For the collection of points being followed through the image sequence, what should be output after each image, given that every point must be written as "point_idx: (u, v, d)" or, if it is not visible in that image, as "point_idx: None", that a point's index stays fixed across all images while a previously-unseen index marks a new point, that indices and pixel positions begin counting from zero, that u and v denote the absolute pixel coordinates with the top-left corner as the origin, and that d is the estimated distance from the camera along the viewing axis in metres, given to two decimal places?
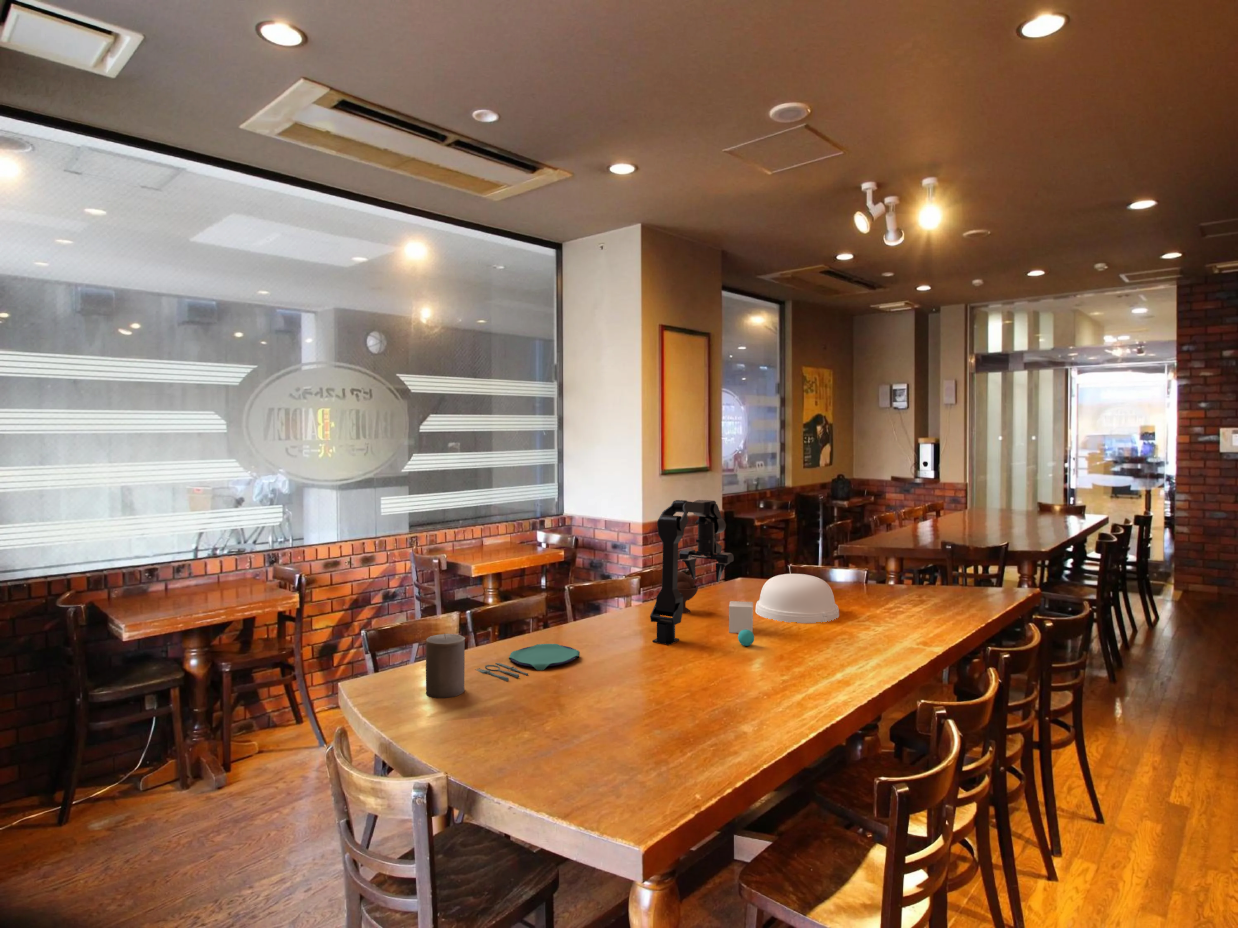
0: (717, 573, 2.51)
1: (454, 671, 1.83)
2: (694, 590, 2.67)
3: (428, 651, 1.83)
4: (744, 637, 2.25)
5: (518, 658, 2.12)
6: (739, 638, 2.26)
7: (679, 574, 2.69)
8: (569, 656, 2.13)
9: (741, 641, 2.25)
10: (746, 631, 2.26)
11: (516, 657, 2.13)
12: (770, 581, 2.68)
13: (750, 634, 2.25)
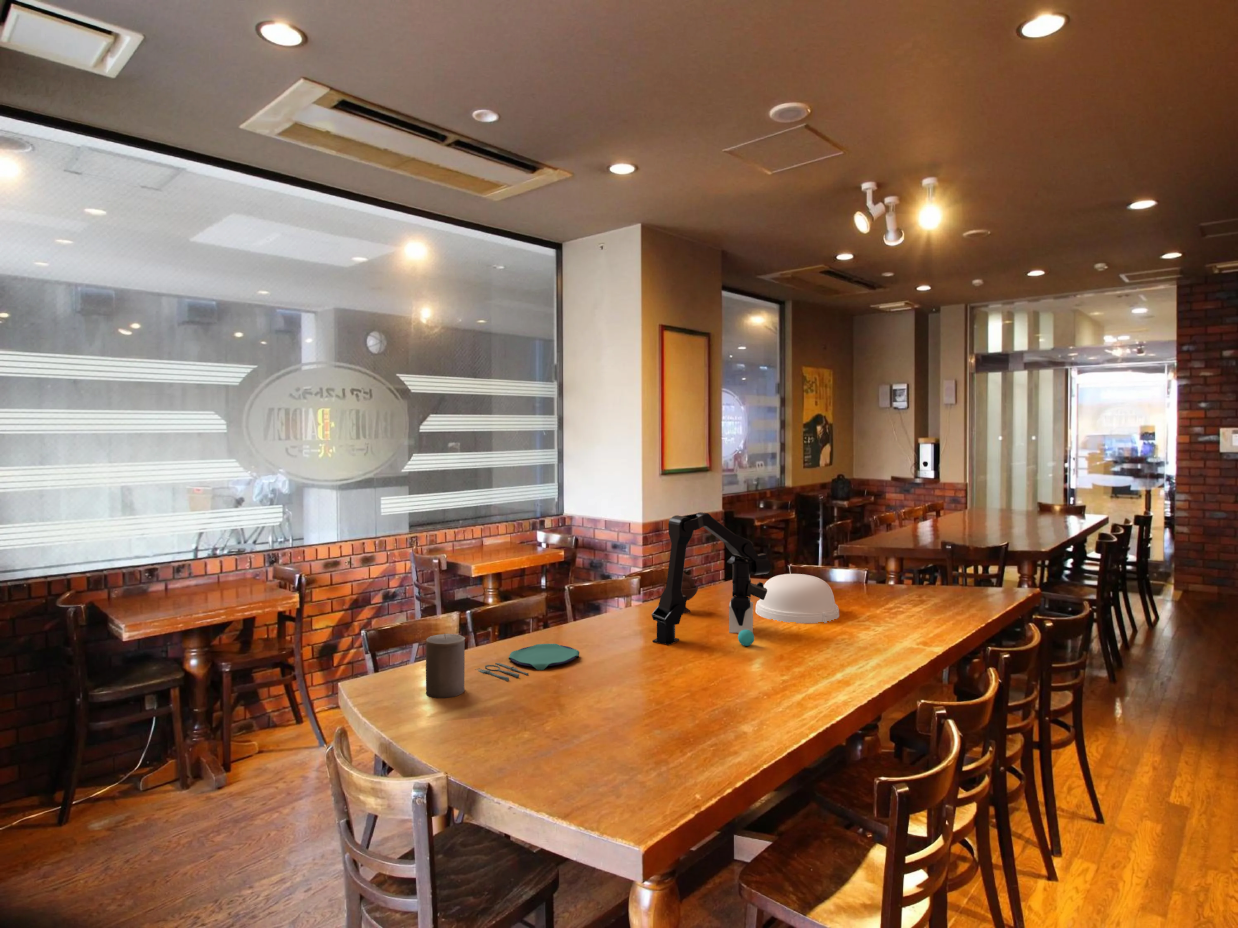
0: (735, 615, 2.41)
1: (454, 671, 1.83)
2: (694, 590, 2.67)
3: (428, 651, 1.83)
4: (744, 637, 2.25)
5: (518, 658, 2.12)
6: (739, 638, 2.26)
7: None
8: (569, 656, 2.13)
9: (741, 641, 2.25)
10: (746, 631, 2.26)
11: (516, 656, 2.13)
12: (770, 581, 2.68)
13: (750, 634, 2.25)
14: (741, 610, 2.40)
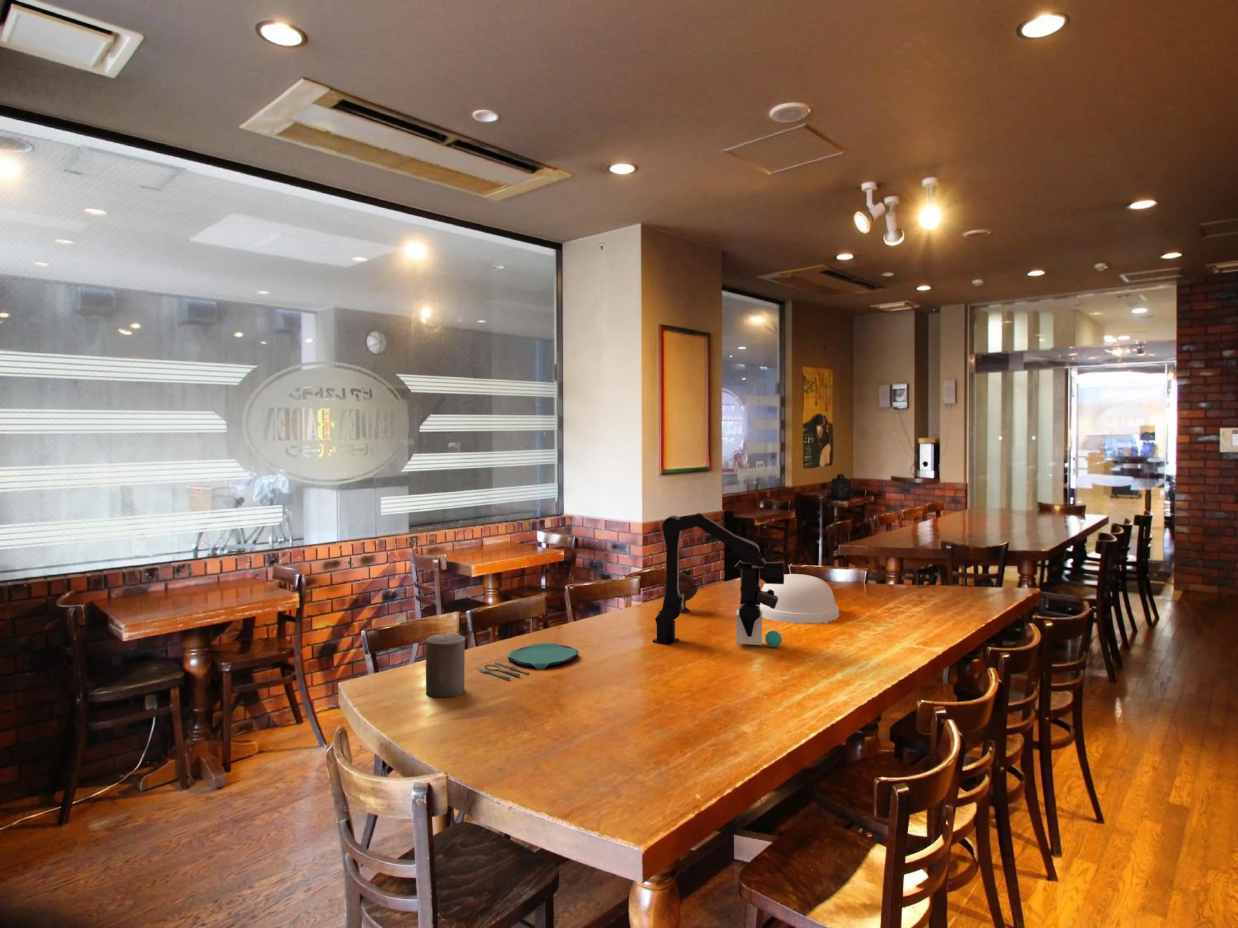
0: None
1: (454, 671, 1.83)
2: (694, 590, 2.67)
3: (428, 651, 1.83)
4: (774, 642, 2.23)
5: (517, 658, 2.12)
6: (780, 641, 2.24)
7: (679, 574, 2.69)
8: (568, 655, 2.14)
9: (778, 639, 2.23)
10: (771, 646, 2.24)
11: (515, 656, 2.13)
12: None
13: (768, 643, 2.24)
14: (750, 620, 2.21)
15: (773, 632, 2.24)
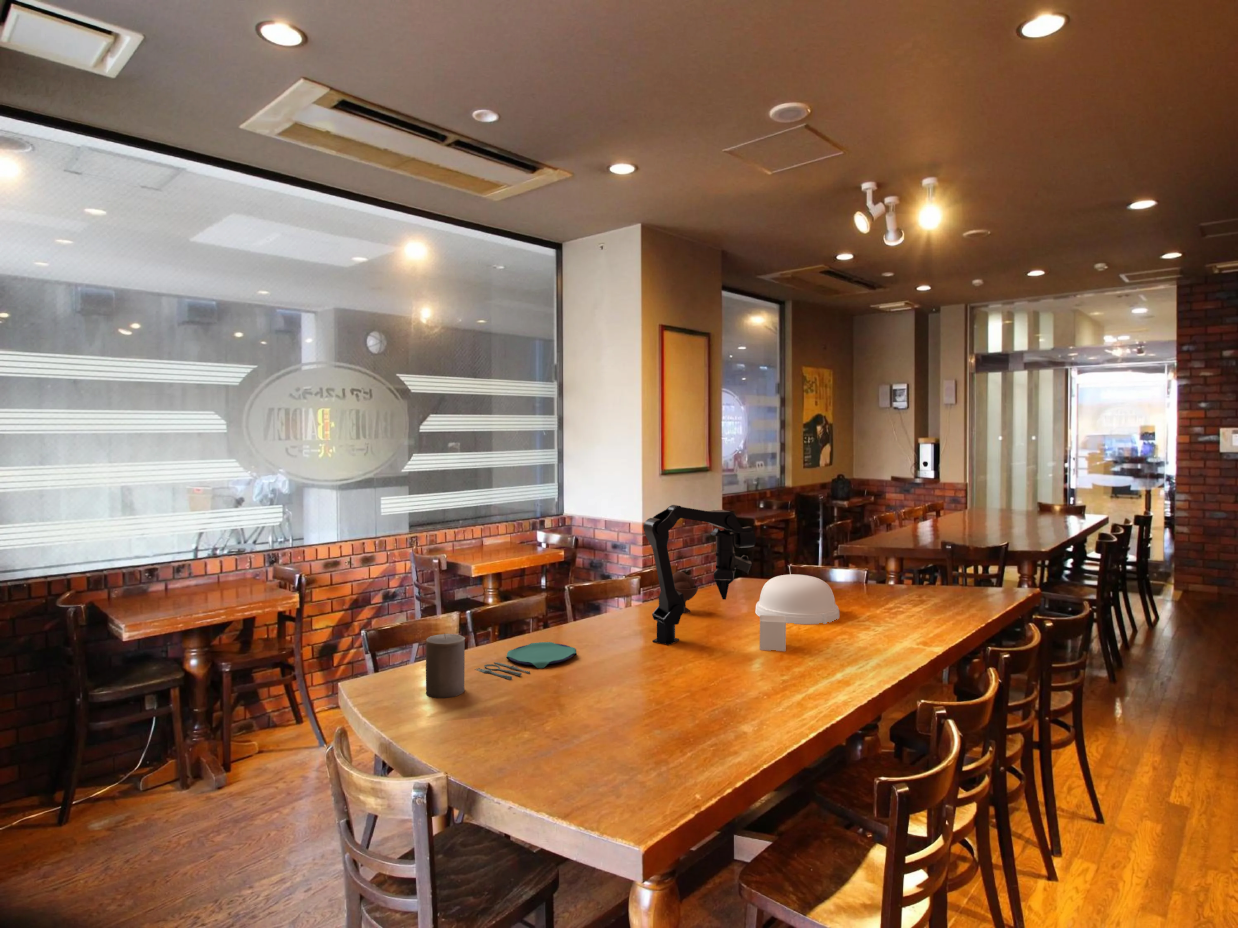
0: None
1: (454, 671, 1.83)
2: (694, 590, 2.67)
3: (428, 651, 1.83)
4: None
5: (516, 657, 2.13)
6: None
7: (679, 574, 2.69)
8: (566, 654, 2.15)
9: None
10: None
11: (514, 655, 2.14)
12: (770, 582, 2.67)
13: None
14: (724, 583, 2.34)
15: None
